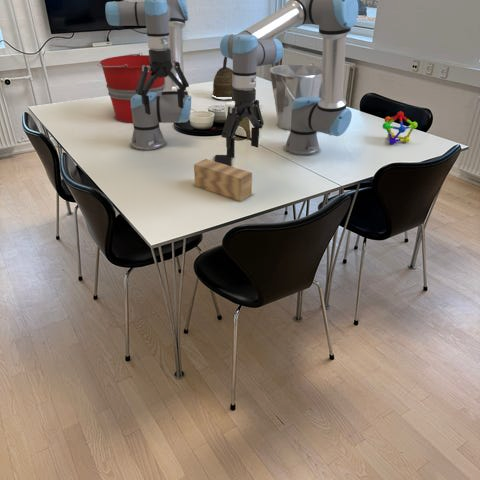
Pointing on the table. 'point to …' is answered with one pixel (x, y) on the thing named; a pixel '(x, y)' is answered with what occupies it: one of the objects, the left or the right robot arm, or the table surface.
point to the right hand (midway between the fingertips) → (243, 151)
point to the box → (223, 179)
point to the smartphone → (223, 159)
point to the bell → (223, 81)
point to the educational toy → (398, 128)
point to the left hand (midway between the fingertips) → (164, 110)
